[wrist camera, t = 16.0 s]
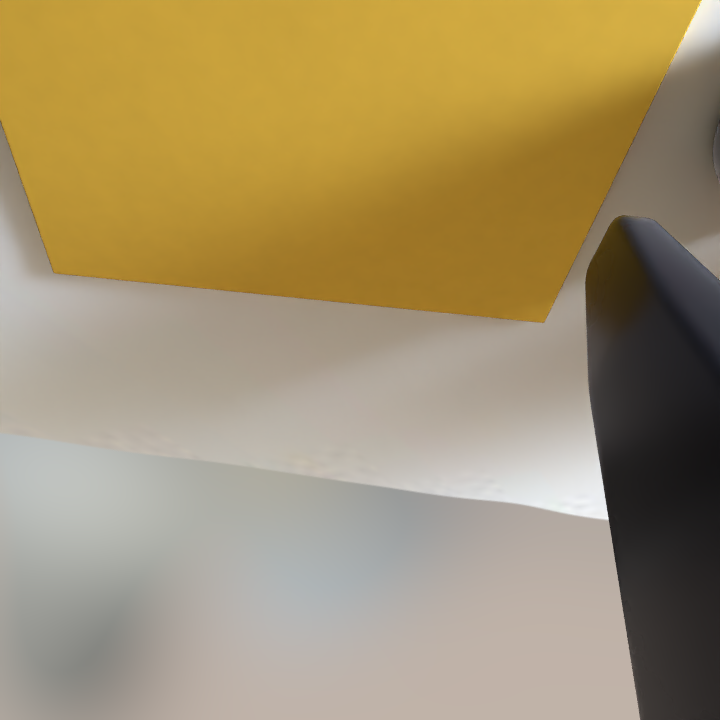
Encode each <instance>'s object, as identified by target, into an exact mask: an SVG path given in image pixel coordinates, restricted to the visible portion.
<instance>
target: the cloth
mask: <svg viewBox="0 0 720 720" xmlns="http://www.w3.org/2000/svg"><path fill="white" fill-rule="evenodd" d="M701 1H702V0H0V121H1V124H2V127H3V130H4V133H5V135H6V138H7V141H8V144H9V147H10V150H11V153H12V155H13V158H14V161H15V164H16V167H17V170H18V173H19V175H20V178H21V181H22V184H23V187H24V190H25V192H26V195H27V198H28V201H29V204H30V207H31V210H32V212H33V215H34V218H35V221H36V224H37V227H38V230H39V232H40V235H41V238H42V241H43V244H44V247H45V249H46V252H47V255H48V258H49V261H50V264H51V267H52V269H53V272H54V273H57V274H66V275H76V276H86V277H96V278H106V279H116V280H126V281H136V282H146V283H155V284H165V285H175V286H185V287H195V288H205V289H215V290H225V291H235V292H244V293H254V294H264V295H274V296H284V297H294V298H304V299H314V300H323V301H333V302H343V303H353V304H363V305H373V306H383V307H393V308H403V309H412V310H422V311H432V312H442V313H452V314H462V315H472V316H482V317H492V318H501V319H511V320H521V321H531V322H541V323H544V322H545V320H546V318H547V316H548V313H549V311H550V309H551V307H552V305H553V303H554V301H555V299H556V297H557V295H558V293H559V291H560V289H561V287H562V285H563V283H564V281H565V279H566V277H567V275H568V273H569V271H570V269H571V266H572V264H573V262H574V260H575V258H576V256H577V254H578V252H579V250H580V248H581V246H582V244H583V242H584V240H585V238H586V236H587V234H588V232H589V230H590V228H591V226H592V224H593V222H594V219H595V217H596V215H597V213H598V211H599V209H600V207H601V205H602V203H603V201H604V199H605V197H606V195H607V193H608V191H609V189H610V187H611V185H612V183H613V181H614V179H615V177H616V174H617V172H618V170H619V168H620V166H621V164H622V162H623V160H624V158H625V156H626V154H627V152H628V150H629V148H630V146H631V144H632V142H633V140H634V138H635V136H636V134H637V132H638V130H639V127H640V125H641V123H642V121H643V119H644V117H645V115H646V113H647V111H648V109H649V107H650V105H651V103H652V101H653V99H654V97H655V95H656V93H657V91H658V89H659V87H660V85H661V83H662V80H663V78H664V76H665V74H666V72H667V70H668V68H669V66H670V64H671V62H672V60H673V58H674V56H675V54H676V52H677V50H678V48H679V46H680V44H681V42H682V40H683V38H684V36H685V33H686V31H687V29H688V27H689V25H690V23H691V21H692V19H693V17H694V15H695V13H696V11H697V9H698V7H699V5H700V3H701Z"/></svg>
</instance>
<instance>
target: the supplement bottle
mask: <svg viewBox="0 0 720 720" xmlns="http://www.w3.org/2000/svg"><path fill="white" fill-rule="evenodd" d="M713 161H714V167H715V172H716V175H717V178H718V180H719V183H720V120H719V123H718V126H717V129H716V133H715V138H714V146H713Z"/></svg>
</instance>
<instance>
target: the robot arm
mask: <svg viewBox="0 0 720 720" xmlns="http://www.w3.org/2000/svg"><path fill="white" fill-rule="evenodd" d="M585 290H586V323H587V357H588V382H589V394H590V402H591V409H592V416H593V422H594V428H595V435H596V441H597V447H598V454H599V460H600V466H601V473H602V479H603V485H604V492H605V498H606V505H607V511H608V517H609V523H610V530H611V536H612V543H613V549H614V555H615V562H616V568H617V574H618V581H619V587H620V593H621V600H622V606H623V612H624V619H625V625H626V631H627V638H628V644H629V650H630V657H631V663H632V669H633V676H634V682H635V689H636V694H637V701H638V707H639V714H640V720H720V280H718V279H717V278H716V277H715V276H714V275H713V274H712V273H711V272H710V271H709V270H708V269H707V268H706V267H704V266H703V265H702V264H701V263H700V262H699V261H698V260H697V259H696V258H695V257H694V256H693V255H692V254H690V253H689V252H688V251H687V250H686V249H685V248H684V247H683V246H682V245H681V244H680V243H679V242H678V241H676V240H675V239H674V238H673V237H672V236H671V235H670V234H669V233H668V232H667V231H666V230H665V229H664V228H662V227H661V226H660V225H659V224H658V223H657V222H656V221H655V220H653V219H650V218H643V217H634V216H626V215H622V216H619V217H617V218H615V219H614V220H613V222H612V223H611V224H610V226H609V228H608V230H607V232H606V234H605V236H604V237H603V239H602V241H601V243H600V245H599V247H598V249H597V251H596V253H595V255H594V257H593V259H592V260H591V262H590V265H589V267H588V270H587V274H586V281H585Z"/></svg>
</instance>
